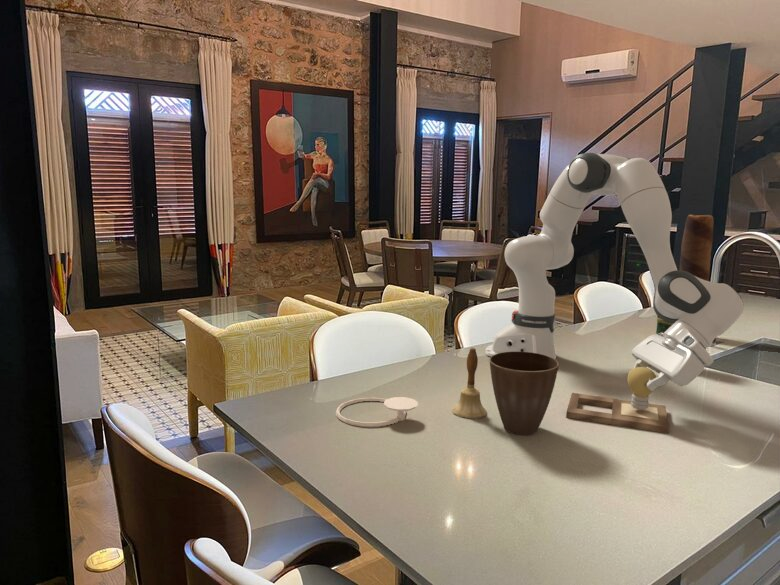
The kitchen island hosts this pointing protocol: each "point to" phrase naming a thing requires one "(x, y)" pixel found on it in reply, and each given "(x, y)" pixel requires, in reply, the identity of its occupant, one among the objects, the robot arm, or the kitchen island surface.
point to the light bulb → (640, 386)
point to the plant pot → (522, 388)
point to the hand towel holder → (393, 404)
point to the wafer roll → (697, 245)
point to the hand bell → (470, 393)
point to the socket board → (619, 413)
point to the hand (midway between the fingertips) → (639, 382)
